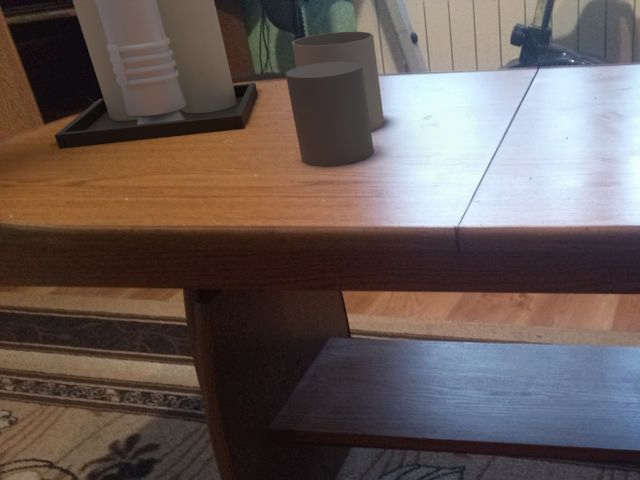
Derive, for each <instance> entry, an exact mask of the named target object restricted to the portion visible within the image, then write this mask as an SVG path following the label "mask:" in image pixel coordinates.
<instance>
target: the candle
mask: <svg viewBox="0 0 640 480" xmlns="http://www.w3.org/2000/svg"><path fill="white" fill-rule="evenodd" d="M95 1H96V4H97V8H98V11H99V14H100V18H101V21H102V24H103V28H104V31H105V34H106V37H107V41H108V45H107V51H108V52H109V53H110V61H111V62H112V63H113V66H114V68H113V71H114V73H116V76H117V79H116V81H117V84H119V86H121V88H122V93H123V97H124V102H125V106H126V111H127V114H128V115H130V116H133V117H138V120H137V125H140V124H149V123H159V122H168V121H178V120H185V118H184V117H183V116H182V114H181V113H180V112H179V110H181V109H183V108H185V106H186V102H185V99H184V97H183V94H182V91H181V88H180V85H179V82H178V79H177V76H178V75H179V73H178V70H177V69H175V68H174V66H175V65H176V61H175V60H174V59H173V58H171V55H173V50H172V49H171V48H169V46H168V45H169V44H170V43H171V42H170V39H169V38H168V37H166V35H165V31H164V27H163V23H162V20H161V16H160V12H159V8H158V4H157V1H156V0H95Z"/></svg>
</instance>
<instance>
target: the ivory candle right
mask: <svg viewBox="0 0 640 480" xmlns="http://www.w3.org/2000/svg"><path fill="white" fill-rule="evenodd" d="M156 1H157V4H158V8H159V12H160V16H161V20H162V23H163V27H164V31H165V35H166V37H168V38H169V39H170V42H171V43H170V44H169V45H168V46H169V48H171V49H172V50H173V55H171V58H173V59H174V60H175V61H176V65H175V66H174V68H175V69H177V70H178V73H179V75H178V76H177V79H178V82H179V85H180V88H181V91H182V94H183V97H184V99H185V102H186V106H185V108H183V109H182V111H183V112H185V113H208V112H215V111H220V110H224V109H228V108H230V107H233V106H235V105H236V104H237V101H236V96H235V92H234V87H233V85H234V84H233V83H234V82H233V79H232V74H231V70H230V65H229V61H228V57H227V56H228V55H227V52H226V48H225V44H224V39H223V35H222V30H221V25H220V21H219V17H218V12H217V8H216V3H215V0H156Z"/></svg>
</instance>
